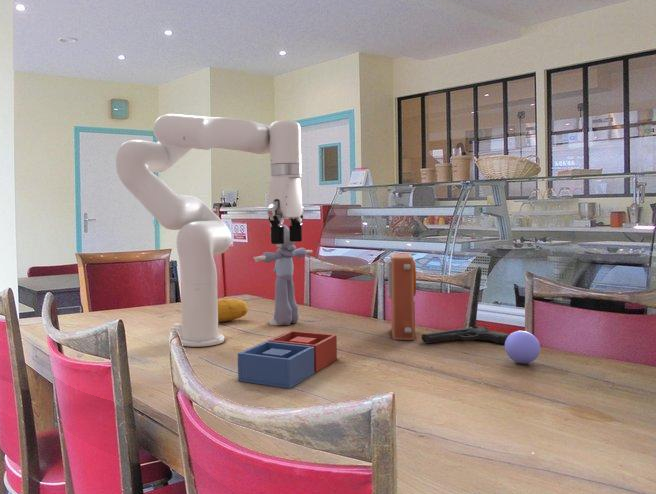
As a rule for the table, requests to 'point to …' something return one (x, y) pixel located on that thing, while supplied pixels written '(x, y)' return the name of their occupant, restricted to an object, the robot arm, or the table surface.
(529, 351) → the sphere
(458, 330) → the handgun
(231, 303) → the potato
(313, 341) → the red block
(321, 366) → the red bin
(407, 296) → the control panel
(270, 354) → the blue block
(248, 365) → the blue bin
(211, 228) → the robot arm
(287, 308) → the toy
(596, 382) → the table surface
